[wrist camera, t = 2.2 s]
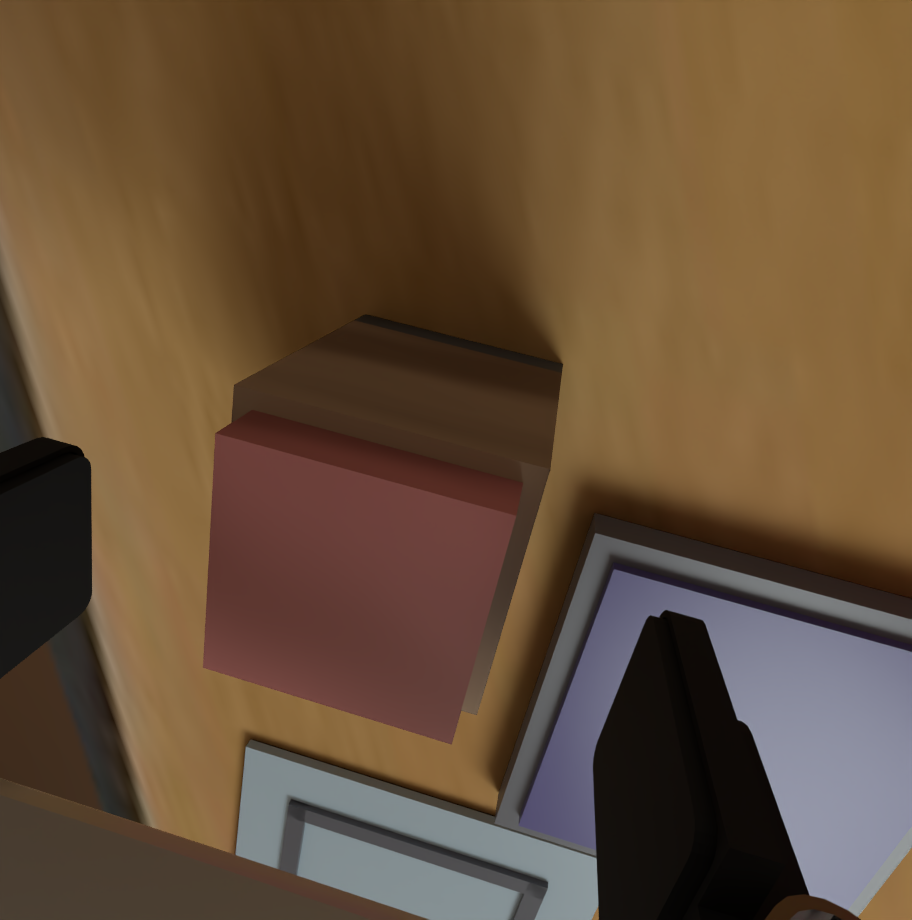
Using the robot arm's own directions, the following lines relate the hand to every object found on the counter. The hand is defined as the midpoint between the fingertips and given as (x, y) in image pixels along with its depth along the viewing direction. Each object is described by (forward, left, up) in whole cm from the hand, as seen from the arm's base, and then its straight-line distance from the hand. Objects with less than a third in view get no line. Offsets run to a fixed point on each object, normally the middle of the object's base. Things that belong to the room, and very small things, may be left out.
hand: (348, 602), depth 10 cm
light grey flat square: (+17, +2, -6) cm, 18 cm away
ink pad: (+5, +9, -6) cm, 12 cm away
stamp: (-1, 0, -6) cm, 6 cm away
